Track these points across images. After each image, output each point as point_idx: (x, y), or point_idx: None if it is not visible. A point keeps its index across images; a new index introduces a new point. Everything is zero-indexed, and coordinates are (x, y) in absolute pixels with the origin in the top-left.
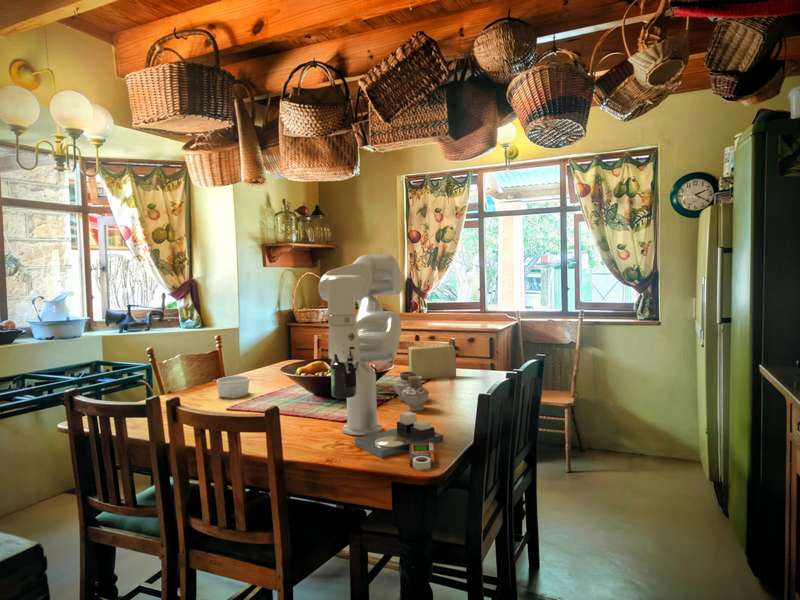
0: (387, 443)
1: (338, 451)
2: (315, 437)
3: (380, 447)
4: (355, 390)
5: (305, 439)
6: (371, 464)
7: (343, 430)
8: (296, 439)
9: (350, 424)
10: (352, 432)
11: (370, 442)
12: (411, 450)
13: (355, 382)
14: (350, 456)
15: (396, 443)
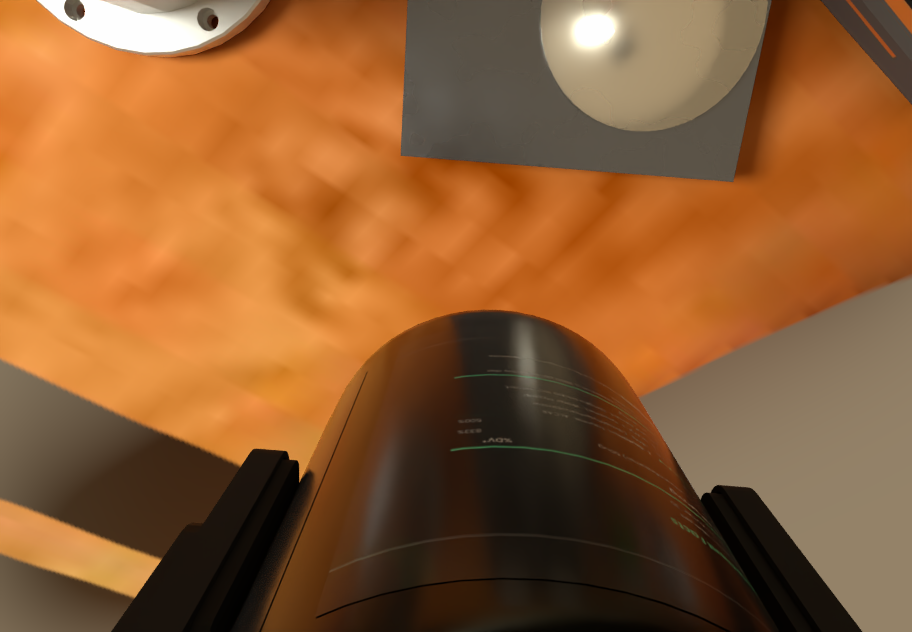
0: (675, 64)
1: (434, 292)
2: (113, 251)
3: (679, 142)
4: (638, 398)
5: (116, 315)
6: (738, 279)
7: (115, 48)
8: (85, 352)
9: (132, 5)
10: (217, 39)
11: (550, 128)
12: (900, 22)
13: (771, 530)
14: (552, 289)
15: (728, 13)
